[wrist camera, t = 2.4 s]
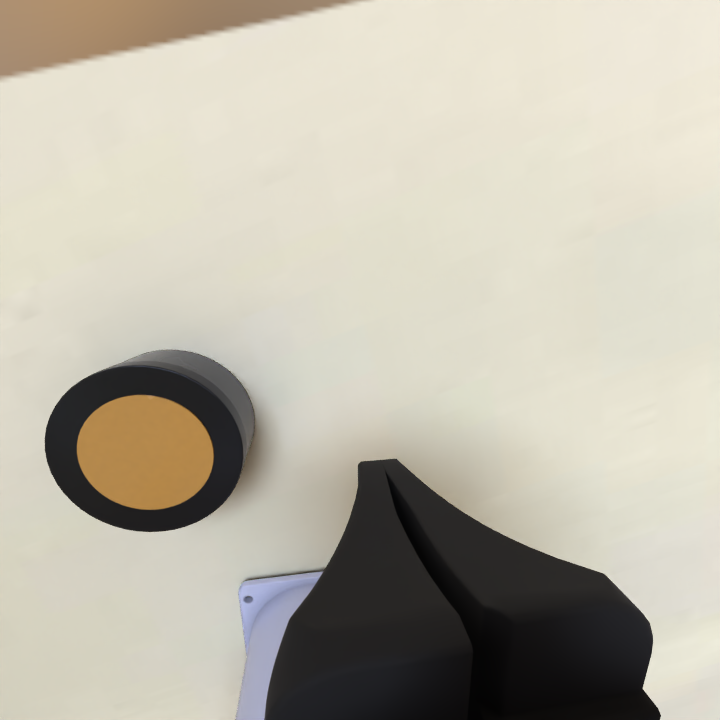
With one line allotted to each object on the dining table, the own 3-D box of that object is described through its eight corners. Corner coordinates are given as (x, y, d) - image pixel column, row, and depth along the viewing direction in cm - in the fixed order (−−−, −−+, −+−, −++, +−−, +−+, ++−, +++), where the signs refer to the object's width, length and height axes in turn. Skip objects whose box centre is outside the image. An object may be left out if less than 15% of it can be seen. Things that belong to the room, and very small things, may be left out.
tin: (262, 481, 18) (251, 523, 15) (111, 494, 17) (66, 542, 14) (248, 344, 16) (233, 361, 13) (80, 351, 16) (19, 371, 12)
